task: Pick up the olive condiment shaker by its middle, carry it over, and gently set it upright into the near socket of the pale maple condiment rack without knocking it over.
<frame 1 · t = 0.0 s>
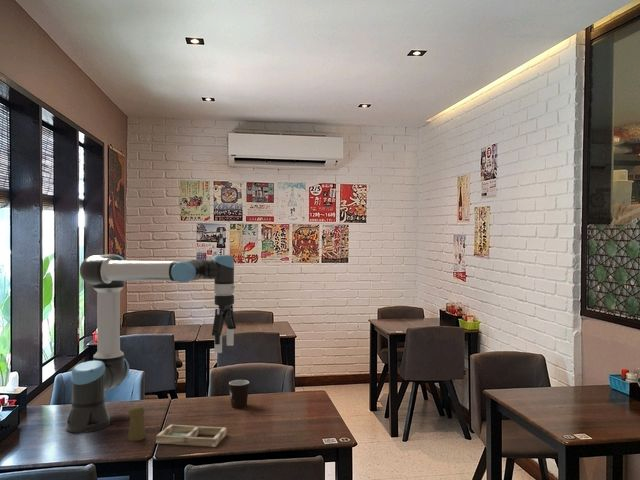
hand: (224, 349, 202), 28 cm above the table, tool pointing down, fingers open, 13 cm apart
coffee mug: (239, 405, 221), on the table
olive condiment shaker: (136, 438, 185), on the table
condiment rack: (191, 438, 183), on the table
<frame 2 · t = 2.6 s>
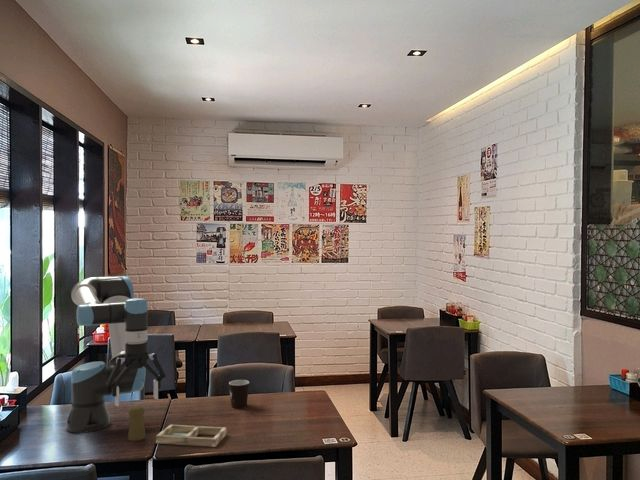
hand: (136, 401, 184), 13 cm above the table, tool pointing down, fingers open, 13 cm apart
nothing on the table moved.
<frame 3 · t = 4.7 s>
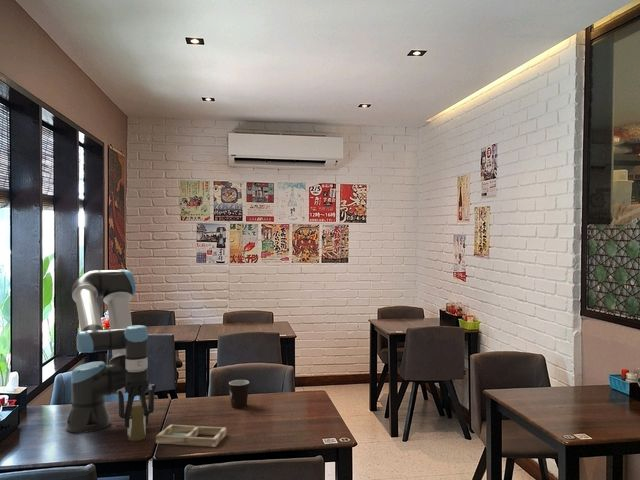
hand: (136, 434, 185), 1 cm above the table, tool pointing down, fingers closed on olive condiment shaker, 4 cm apart
olive condiment shaker: (136, 438, 185), on the table, touching gripper
everything else where it was.
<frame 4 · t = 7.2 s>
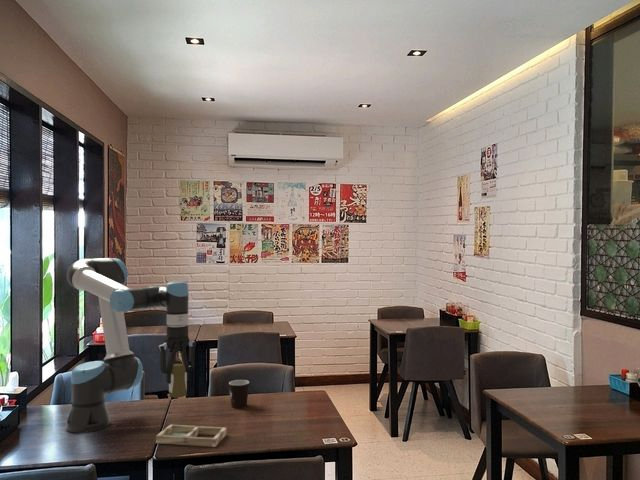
hand: (177, 390, 184), 17 cm above the table, tool pointing down, fingers closed on olive condiment shaker, 4 cm apart
olive condiment shaker: (178, 395, 184), point 15 cm above the table, touching gripper
everything else where it was.
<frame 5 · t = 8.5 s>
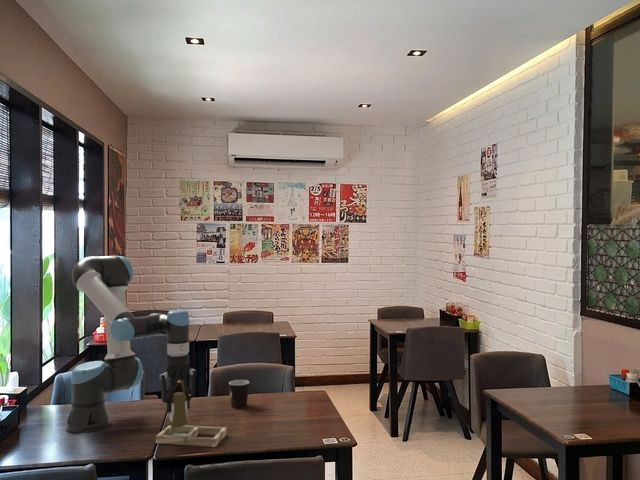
hand: (178, 419, 184), 7 cm above the table, tool pointing down, fingers closed on olive condiment shaker, 4 cm apart
olive condiment shaker: (178, 424, 184), point 5 cm above the table, touching gripper
everything else where it was.
when the fingers open (3 cm above the table, at t = 9.5 s): olive condiment shaker drops 1 cm, resting on condiment rack.
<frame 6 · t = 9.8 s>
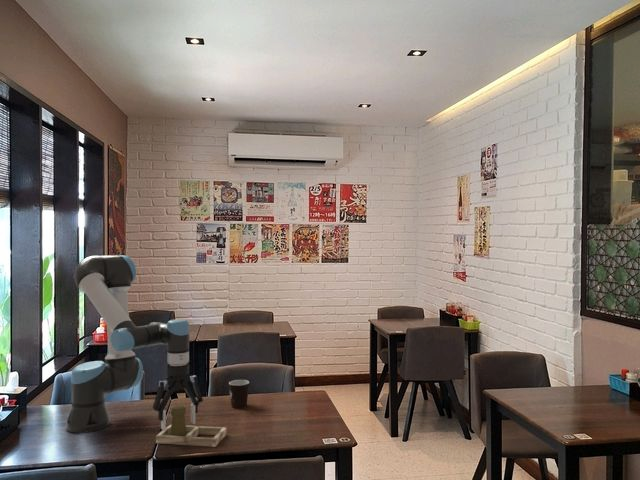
hand: (178, 425, 184), 4 cm above the table, tool pointing down, fingers open, 10 cm apart
olive condiment shaker: (178, 437, 184), resting on condiment rack
everything else where it was.
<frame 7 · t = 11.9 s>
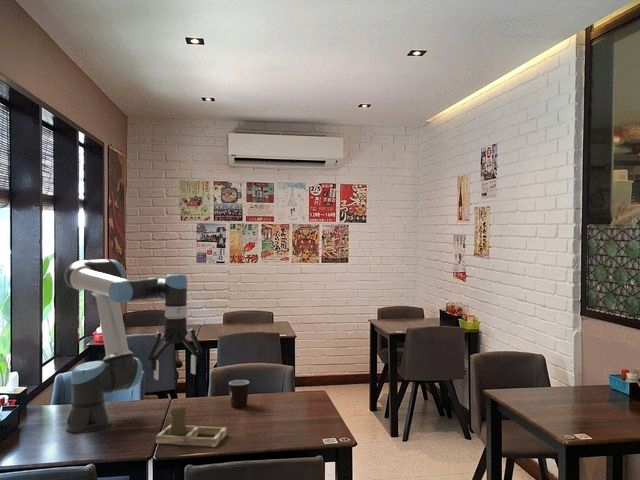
hand: (175, 376, 186), 22 cm above the table, tool pointing down, fingers open, 13 cm apart
nothing on the table moved.
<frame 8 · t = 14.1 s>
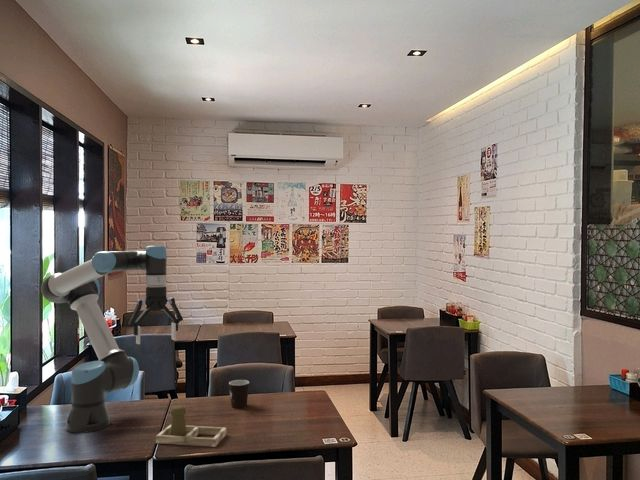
hand: (156, 341, 197), 32 cm above the table, tool pointing down, fingers open, 13 cm apart
nothing on the table moved.
at the end: olive condiment shaker 0.2 cm from the target spot on the condiment rack, point 0.1 cm above the condiment rack's base; olive condiment shaker tilted 0°; the gripper is holding nothing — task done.
